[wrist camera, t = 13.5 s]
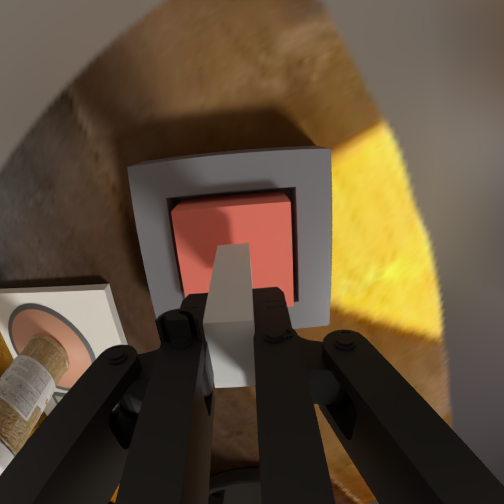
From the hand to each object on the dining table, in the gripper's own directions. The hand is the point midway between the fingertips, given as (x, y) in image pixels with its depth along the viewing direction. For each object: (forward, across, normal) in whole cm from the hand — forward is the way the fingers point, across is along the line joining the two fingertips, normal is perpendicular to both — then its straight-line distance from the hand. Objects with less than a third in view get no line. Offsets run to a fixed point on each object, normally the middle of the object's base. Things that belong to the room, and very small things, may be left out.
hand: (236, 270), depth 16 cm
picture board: (+6, +17, +12) cm, 22 cm away
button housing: (+6, 0, 0) cm, 6 cm away
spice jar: (+5, +18, +9) cm, 21 cm away
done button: (+4, 0, 0) cm, 4 cm away
